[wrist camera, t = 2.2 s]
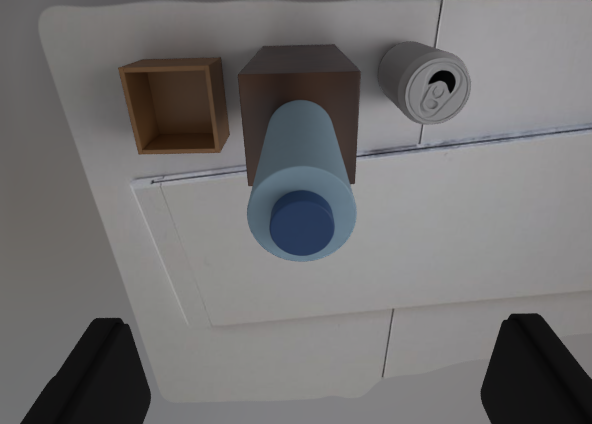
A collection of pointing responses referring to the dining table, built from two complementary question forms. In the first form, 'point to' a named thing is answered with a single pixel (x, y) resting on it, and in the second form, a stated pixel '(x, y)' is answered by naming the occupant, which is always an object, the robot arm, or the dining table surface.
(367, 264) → the dining table surface
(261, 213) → the bottle
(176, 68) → the open wooden box
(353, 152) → the plinth
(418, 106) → the beverage can
